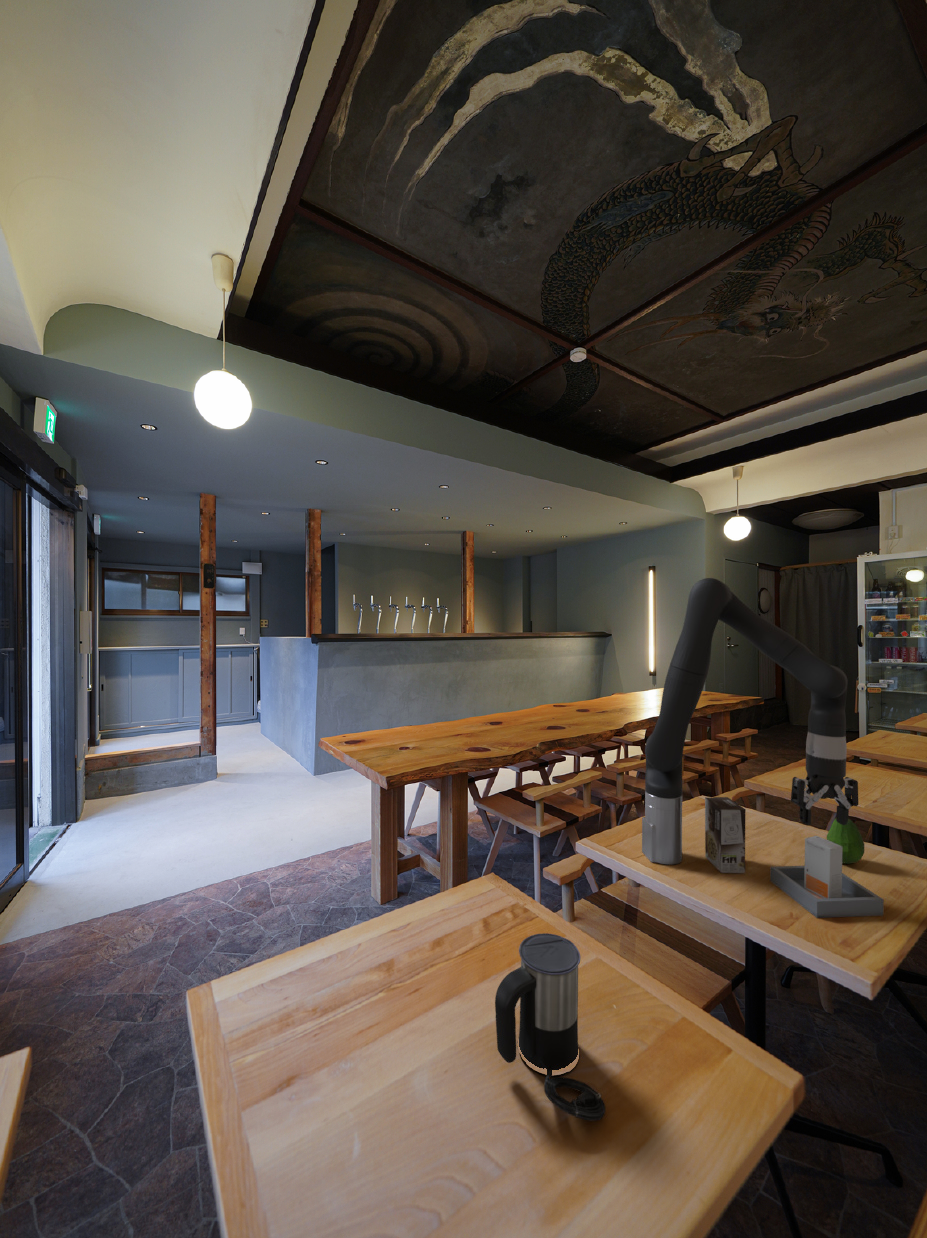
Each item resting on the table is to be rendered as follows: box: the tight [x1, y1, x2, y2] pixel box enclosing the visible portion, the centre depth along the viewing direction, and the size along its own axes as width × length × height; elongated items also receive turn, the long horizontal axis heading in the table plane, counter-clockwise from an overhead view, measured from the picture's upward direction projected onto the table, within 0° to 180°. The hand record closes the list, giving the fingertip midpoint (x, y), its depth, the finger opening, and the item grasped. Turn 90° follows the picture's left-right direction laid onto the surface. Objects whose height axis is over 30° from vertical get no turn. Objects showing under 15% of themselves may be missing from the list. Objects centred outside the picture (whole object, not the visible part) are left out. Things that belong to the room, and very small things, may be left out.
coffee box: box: [704, 796, 747, 874], centre depth 132 cm, size 9×6×16 cm
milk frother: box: [494, 932, 606, 1122], centre depth 72 cm, size 14×16×15 cm
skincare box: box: [804, 835, 843, 899], centre depth 116 cm, size 6×4×12 cm
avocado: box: [826, 818, 865, 865], centre depth 133 cm, size 8×8×12 cm
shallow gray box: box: [769, 865, 884, 919], centre depth 117 cm, size 15×15×4 cm
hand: (823, 823), depth 116 cm, fingers open, 8 cm apart
